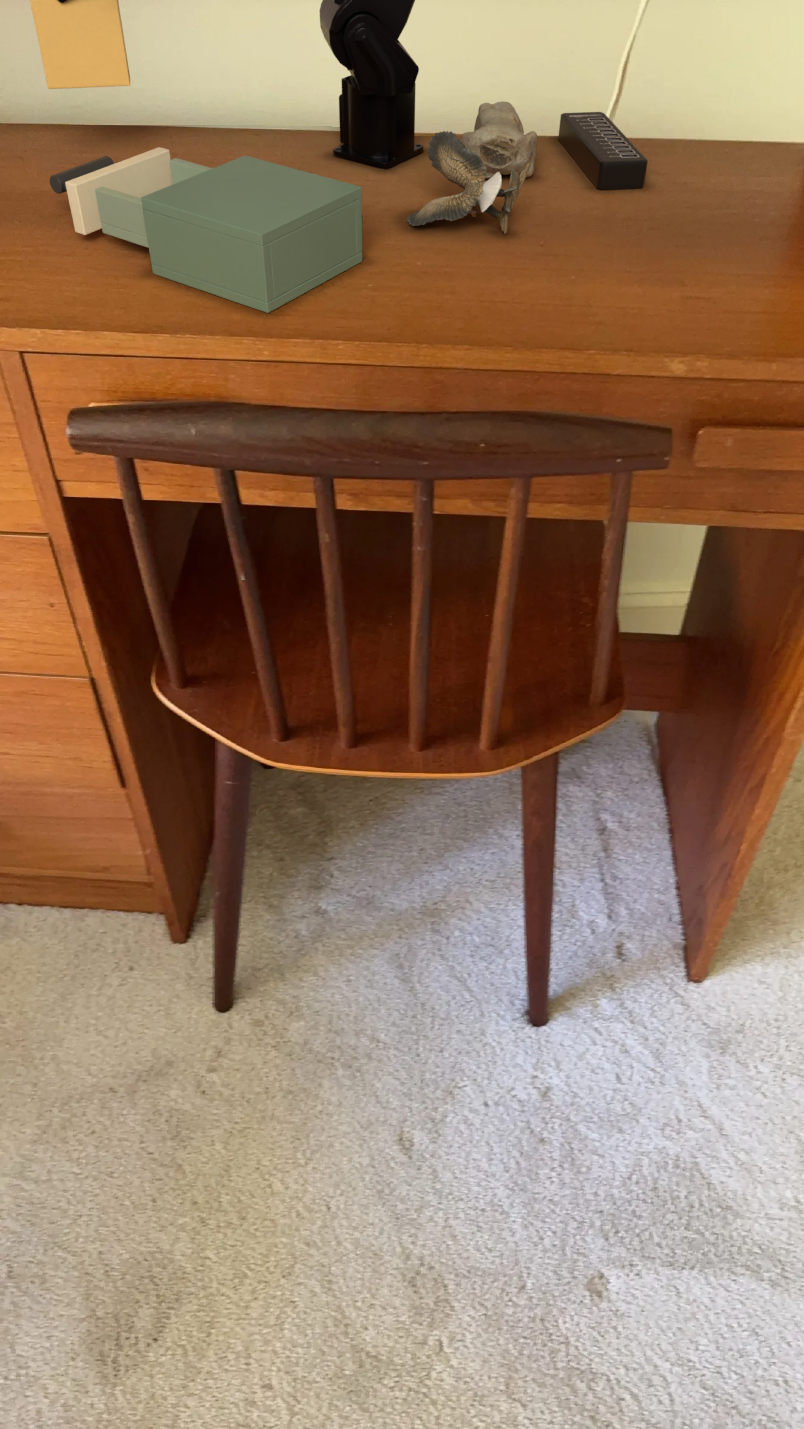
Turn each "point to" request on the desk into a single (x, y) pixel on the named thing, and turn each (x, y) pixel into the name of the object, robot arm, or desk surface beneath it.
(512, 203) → the eagle figurine
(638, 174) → the multiport hub
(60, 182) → the drawer
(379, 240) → the desk surface
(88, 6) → the tan flat block
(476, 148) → the sculpture
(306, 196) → the cabinet
